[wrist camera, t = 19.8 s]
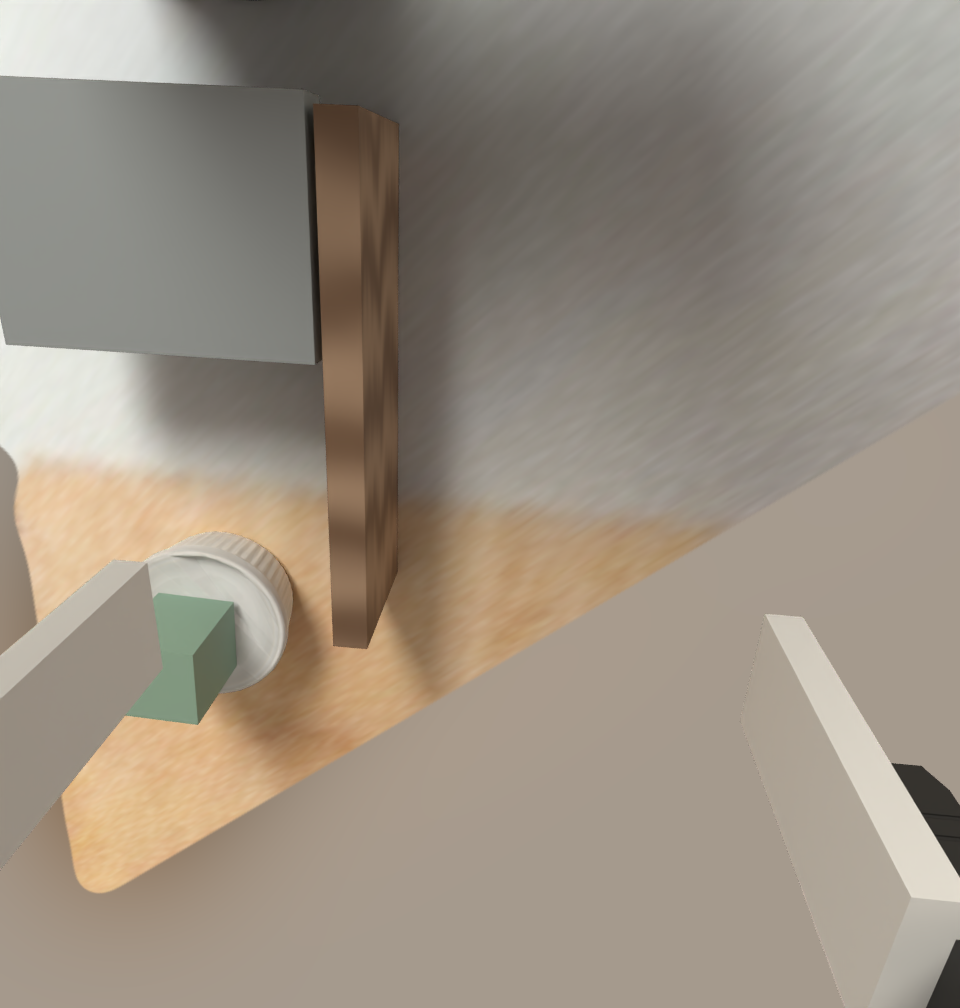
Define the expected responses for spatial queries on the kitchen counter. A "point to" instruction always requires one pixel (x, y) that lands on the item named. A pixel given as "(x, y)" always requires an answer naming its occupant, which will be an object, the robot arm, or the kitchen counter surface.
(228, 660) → the block
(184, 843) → the kitchen counter surface
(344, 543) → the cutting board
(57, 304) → the lid
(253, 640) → the ramekin
